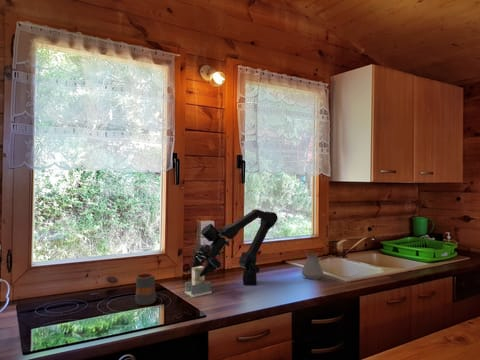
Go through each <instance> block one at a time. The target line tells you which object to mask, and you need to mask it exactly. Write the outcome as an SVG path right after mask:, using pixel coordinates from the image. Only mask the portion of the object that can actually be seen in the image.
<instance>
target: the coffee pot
mask: <svg viewBox="0 0 480 360" xmlns="http://www.w3.org/2000/svg"><path fill="white" fill-rule="evenodd" d="M305 254H306V257H307V258H306V260H305V263H304V265H303V267H302V269H301V275H302V277H304V279H306V280H310V281H311V280H312V281H314V280H316V281H317V280H319V279H320V278H322V277H323V275H324V271H323V269H322V267H321V264H320V262H319V261H321V260H322V261H323V260H326V259H328V258H330V259H331V260H333V259H335V256H334V255H333V254H329V255H326V256H323V257H320V258H318V256H319V253H316V252H306V253H305Z"/></svg>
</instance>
